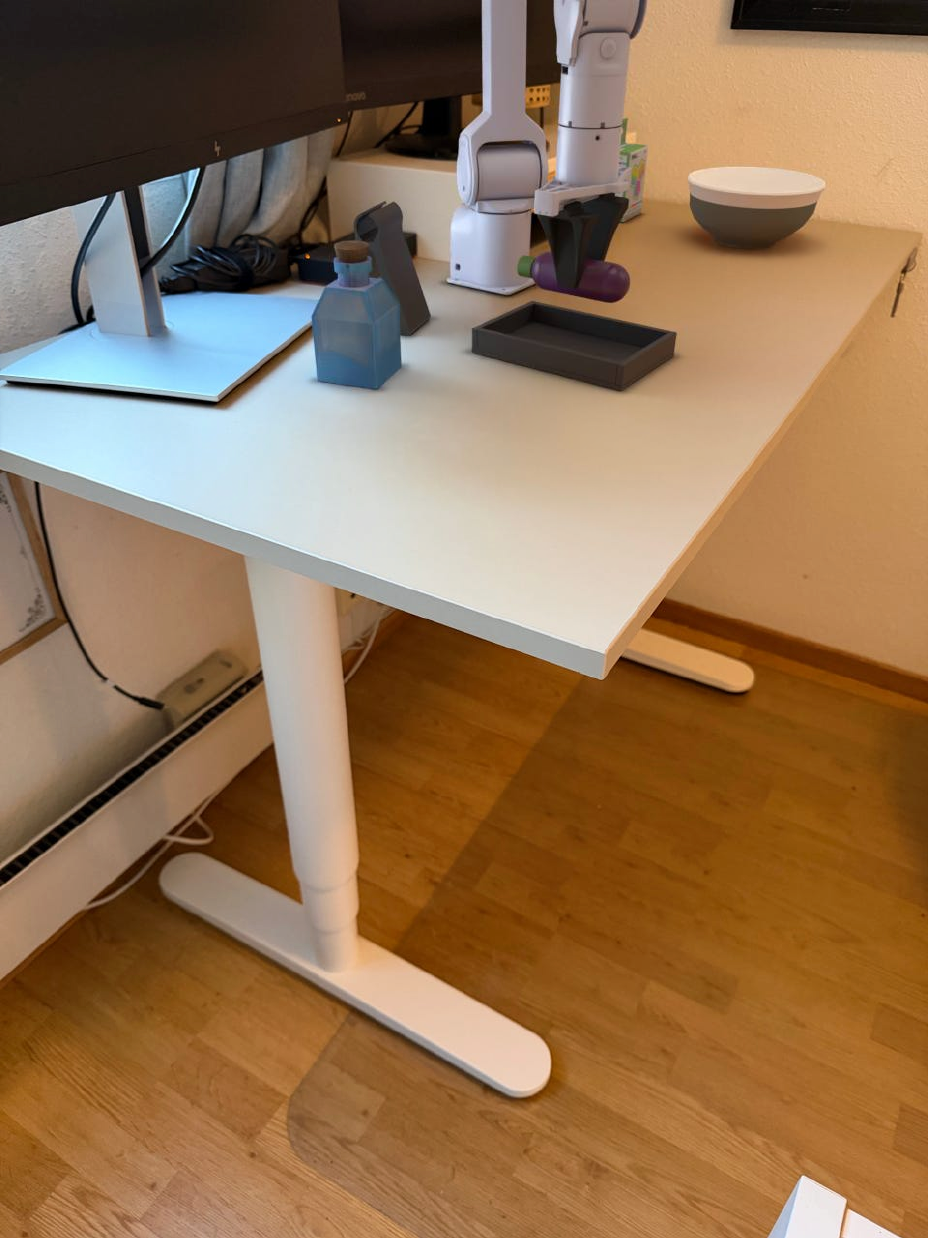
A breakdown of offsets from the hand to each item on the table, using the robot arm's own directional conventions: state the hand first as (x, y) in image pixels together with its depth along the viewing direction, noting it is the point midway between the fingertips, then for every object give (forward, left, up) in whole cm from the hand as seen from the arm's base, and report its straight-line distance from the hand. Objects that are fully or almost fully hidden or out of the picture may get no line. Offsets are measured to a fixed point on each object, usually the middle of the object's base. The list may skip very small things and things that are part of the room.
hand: (578, 280), depth 88 cm
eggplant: (0, 0, -1) cm, 1 cm away
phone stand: (-22, -4, -8) cm, 24 cm away
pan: (0, 0, -7) cm, 7 cm away
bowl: (-3, +54, -8) cm, 55 cm away
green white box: (-25, +57, -8) cm, 62 cm away
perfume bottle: (-14, -17, -8) cm, 23 cm away
